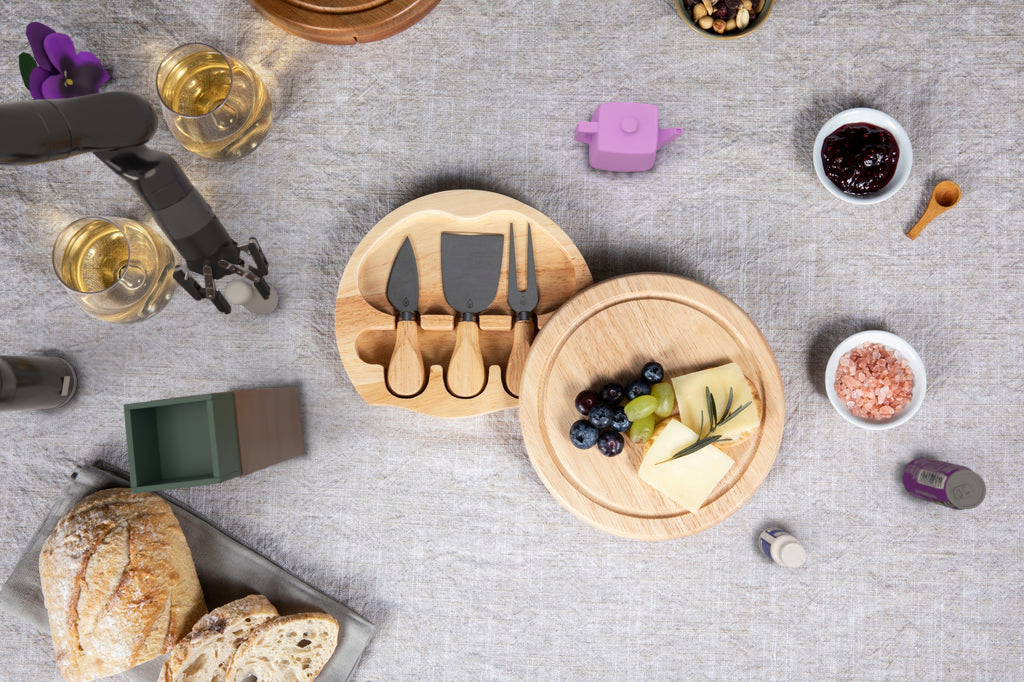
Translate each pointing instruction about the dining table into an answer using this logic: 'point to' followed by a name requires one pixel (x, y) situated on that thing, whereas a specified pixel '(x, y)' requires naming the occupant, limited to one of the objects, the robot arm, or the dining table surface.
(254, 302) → the salt shaker
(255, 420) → the stand
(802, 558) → the pill bottle
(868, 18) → the dining table surface
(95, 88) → the flower
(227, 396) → the bin
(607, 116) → the teapot
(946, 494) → the beverage can
